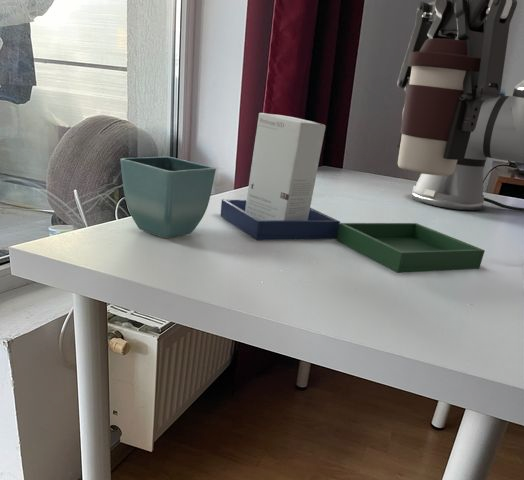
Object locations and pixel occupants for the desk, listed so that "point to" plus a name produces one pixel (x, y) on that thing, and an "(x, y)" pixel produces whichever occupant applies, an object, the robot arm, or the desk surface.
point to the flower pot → (166, 193)
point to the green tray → (409, 247)
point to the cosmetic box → (284, 167)
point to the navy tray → (279, 224)
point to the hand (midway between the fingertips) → (429, 153)
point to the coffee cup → (433, 104)
